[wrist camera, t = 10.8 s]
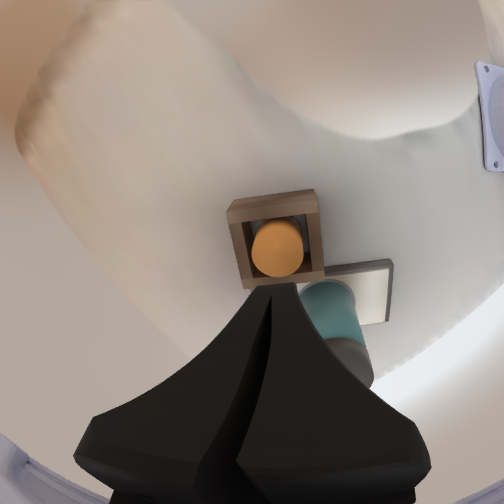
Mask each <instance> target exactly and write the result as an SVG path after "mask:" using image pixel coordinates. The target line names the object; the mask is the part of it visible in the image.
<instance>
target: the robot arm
mask: <svg viewBox="0 0 504 504" xmlns="http://www.w3.org/2000/svg"><path fill="white" fill-rule="evenodd" d="M484 67H485V68H486V71H485V69H484ZM474 68H475V72H476V78H477V83H478V89H479V96H480V103H481V111H482V121H483V134H484V157H485V168H486V169H487V170H488V171H491V172H504V68H503V67H500V66H496V65H493V64H489V63H485V62H481V61H478V62H475V64H474ZM494 163H495V167H494ZM73 456H74V459H75V461H76V463H77V464H78V465H79V466H80V467H81V468H82V469H84V470H85V471H86V472H88V473H89V474H91V475H92V476H93V477H95V478H96V479H98V480H99V481H101V482H102V483H104V484H105V485H107V486H108V487H110V488H112V489H113V490H114V491H113V494H112V497H111V499H108V498H105V497H103V496H101V495H98V494H96V493H94V492H92V491H90V490H87V489H85V488H83V487H81V486H79V485H77V484H75V483H73V482H71V481H69V480H67V479H66V478H64V477H62V476H60V475H59V474H57V473H55V472H53V471H51V470H50V469H48V468H47V467H45V466H43V465H42V464H40V463H39V462H37V461H36V460H34V459H32V458H31V457H29V456H28V454H27V453H25V452H24V451H23V450H22V449H21V448H19V447H18V446H17V445H16V444H14V443H13V442H12V441H11V440H9V439H8V438H7V437H5V436H4V435H3V434H2V433H0V504H414V503H415V501H416V496H415V488H414V487H416V485H418V484H419V483H420V482H421V480H423V479H424V478H425V477H426V475H427V474H428V472H429V471H430V469H431V462H430V456H429V453H428V450H427V447H426V445H425V442H424V440H423V438H422V436H421V434H420V432H419V430H418V428H417V426H416V425H415V423H414V422H413V421H411V420H410V419H408V418H407V417H405V416H404V415H402V414H401V413H399V412H398V411H397V410H395V409H394V408H393V407H391V406H390V405H388V404H387V403H386V402H384V401H383V400H382V399H381V398H380V397H378V396H377V395H376V394H375V393H374V392H372V391H371V390H370V389H369V388H368V387H367V386H366V385H365V384H364V383H362V382H361V381H360V380H359V379H358V378H357V377H356V376H355V375H354V374H353V373H352V372H351V371H350V370H349V369H348V368H347V367H346V366H345V365H344V364H343V363H342V361H341V360H340V359H339V358H338V357H337V356H336V355H335V353H334V352H333V351H332V350H331V349H330V347H329V346H328V345H327V343H326V342H325V341H324V339H323V338H322V336H321V335H320V333H319V332H318V331H317V329H316V328H315V326H314V324H313V323H312V321H311V319H310V317H309V316H308V314H307V312H306V310H305V308H304V306H303V304H302V302H301V300H300V297H299V294H298V290H297V285H296V284H295V283H294V282H289V283H280V284H270V285H261V286H256V288H255V289H254V290H253V291H252V293H251V294H250V295H249V297H248V298H247V300H246V301H245V302H244V304H243V305H242V306H241V308H240V309H239V310H238V312H237V313H236V314H235V315H234V317H233V318H232V319H231V320H230V322H229V323H228V324H227V325H226V326H225V328H224V329H223V330H222V331H221V332H220V333H219V334H218V335H217V336H216V338H215V339H214V340H213V341H212V342H211V343H210V344H209V345H208V346H207V347H206V348H205V349H204V350H203V351H202V352H200V353H199V354H198V355H197V356H196V357H195V358H194V359H192V360H191V361H190V362H189V363H188V364H186V365H185V366H184V367H183V368H181V369H180V370H178V371H177V372H176V373H174V374H173V375H172V376H170V377H169V378H167V379H166V380H165V381H163V382H162V383H160V384H159V385H157V386H155V387H154V388H152V389H151V390H149V391H147V392H146V393H144V394H142V395H140V396H138V397H137V398H135V399H133V400H131V401H129V402H127V403H125V404H123V405H121V406H118V407H116V408H114V409H112V410H109V411H107V412H105V413H102V414H100V415H97V416H95V417H93V418H92V420H91V422H90V424H89V426H88V427H87V429H86V431H85V433H84V435H83V437H82V439H81V441H80V443H79V445H78V447H77V449H76V451H75V453H74V455H73ZM451 504H504V478H503V479H502V480H500V481H498V482H496V483H495V484H493V485H491V486H489V487H487V488H485V489H483V490H481V491H479V492H477V493H474V494H472V495H470V496H468V497H466V498H463V499H461V500H459V501H456V502H454V503H451Z"/></svg>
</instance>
